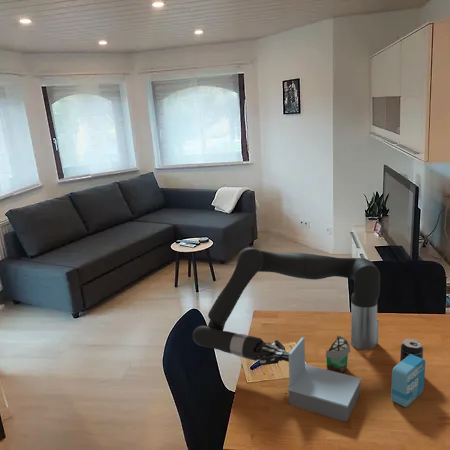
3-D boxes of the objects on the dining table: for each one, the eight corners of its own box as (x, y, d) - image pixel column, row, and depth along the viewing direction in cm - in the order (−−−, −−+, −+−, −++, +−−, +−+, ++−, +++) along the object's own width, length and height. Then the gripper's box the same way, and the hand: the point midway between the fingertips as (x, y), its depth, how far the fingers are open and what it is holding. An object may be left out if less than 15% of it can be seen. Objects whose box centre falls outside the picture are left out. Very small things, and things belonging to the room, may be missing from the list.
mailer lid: (287, 390, 136) (286, 356, 133) (304, 365, 148) (304, 334, 145) (347, 407, 126) (347, 372, 123) (361, 380, 138) (361, 347, 135)
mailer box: (289, 404, 137) (288, 390, 136) (305, 380, 149) (305, 367, 148) (346, 422, 128) (346, 407, 127) (359, 395, 140) (359, 381, 138)
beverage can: (417, 383, 143) (419, 350, 140) (396, 376, 148) (397, 344, 145) (424, 373, 148) (426, 341, 145) (404, 366, 153) (405, 335, 149)
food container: (343, 382, 146) (343, 355, 144) (325, 377, 150) (325, 351, 147) (354, 363, 156) (354, 338, 154) (337, 359, 160) (337, 334, 157)
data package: (404, 409, 132) (406, 374, 129) (390, 402, 135) (391, 368, 132) (423, 391, 139) (426, 357, 136) (410, 385, 143) (411, 352, 140)
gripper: (236, 346, 143) (285, 358, 134) (255, 327, 154) (302, 338, 145) (237, 366, 145) (286, 380, 136) (256, 347, 156) (302, 358, 147)
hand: (294, 358), depth 141 cm, fingers closed
